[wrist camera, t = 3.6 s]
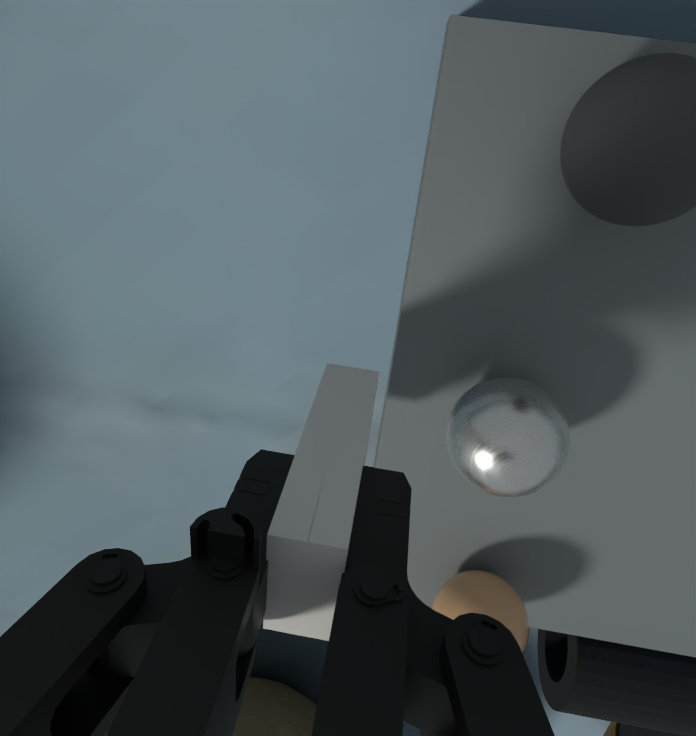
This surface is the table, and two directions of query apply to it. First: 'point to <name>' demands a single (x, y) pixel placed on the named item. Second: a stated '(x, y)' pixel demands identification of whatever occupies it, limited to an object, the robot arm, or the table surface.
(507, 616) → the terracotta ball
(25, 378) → the table surface
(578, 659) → the pipe connector
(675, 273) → the slate board
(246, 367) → the table surface
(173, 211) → the table surface
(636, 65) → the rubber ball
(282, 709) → the bowl
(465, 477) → the steel ball
